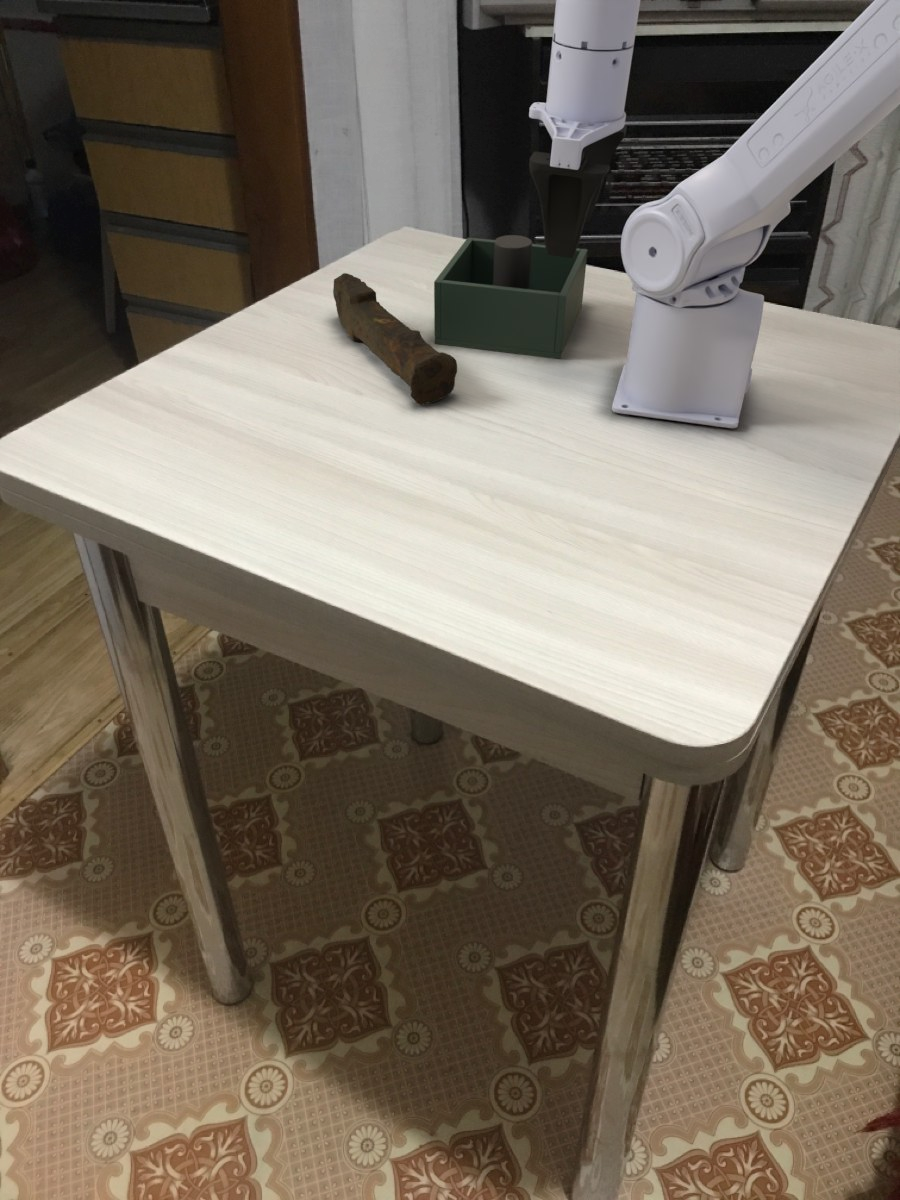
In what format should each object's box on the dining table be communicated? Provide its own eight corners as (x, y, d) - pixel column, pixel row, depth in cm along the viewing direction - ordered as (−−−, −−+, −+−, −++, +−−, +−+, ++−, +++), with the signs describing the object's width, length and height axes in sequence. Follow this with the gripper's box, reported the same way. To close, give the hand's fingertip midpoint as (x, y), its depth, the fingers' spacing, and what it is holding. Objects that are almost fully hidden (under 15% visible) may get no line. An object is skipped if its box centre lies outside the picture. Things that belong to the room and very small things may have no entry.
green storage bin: (581, 308, 86) (587, 249, 82) (560, 359, 77) (566, 296, 74) (466, 295, 88) (467, 237, 84) (434, 343, 80) (433, 281, 76)
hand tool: (459, 399, 72) (460, 344, 69) (413, 410, 70) (412, 353, 67) (367, 312, 85) (364, 262, 82) (327, 320, 83) (322, 269, 80)
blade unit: (551, 315, 83) (557, 237, 78) (543, 332, 80) (549, 252, 76) (477, 307, 84) (479, 230, 80) (466, 323, 82) (468, 244, 77)
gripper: (556, 17, 70) (538, 200, 79) (515, 58, 59) (499, 264, 68) (648, 26, 68) (618, 211, 78) (622, 70, 58) (592, 277, 67)
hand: (568, 237), depth 73 cm, fingers open, 7 cm apart
